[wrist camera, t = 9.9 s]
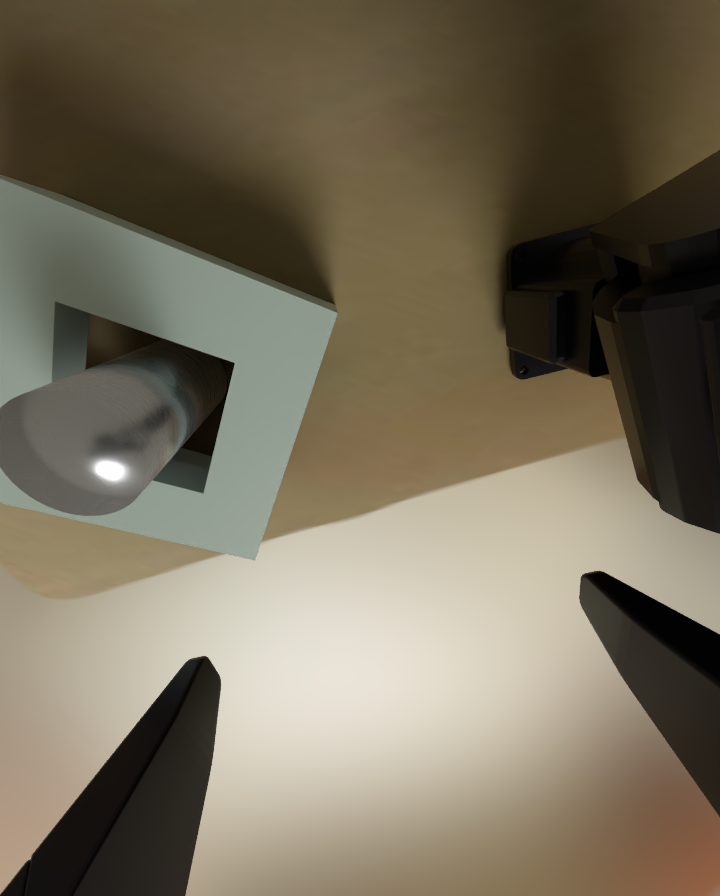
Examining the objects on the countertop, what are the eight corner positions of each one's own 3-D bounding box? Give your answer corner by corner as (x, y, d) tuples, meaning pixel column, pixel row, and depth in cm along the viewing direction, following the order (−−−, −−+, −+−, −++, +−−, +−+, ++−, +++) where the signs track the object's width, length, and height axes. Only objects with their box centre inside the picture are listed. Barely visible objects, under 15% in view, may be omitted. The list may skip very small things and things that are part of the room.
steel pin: (207, 327, 17) (98, 373, 9) (239, 403, 19) (171, 498, 11) (129, 348, 17) (-46, 412, 9) (168, 421, 19) (49, 529, 11)
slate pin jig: (335, 305, 17) (337, 313, 13) (270, 502, 22) (254, 560, 17) (60, 194, 15) (-59, 155, 10) (50, 444, 19) (-37, 494, 15)
